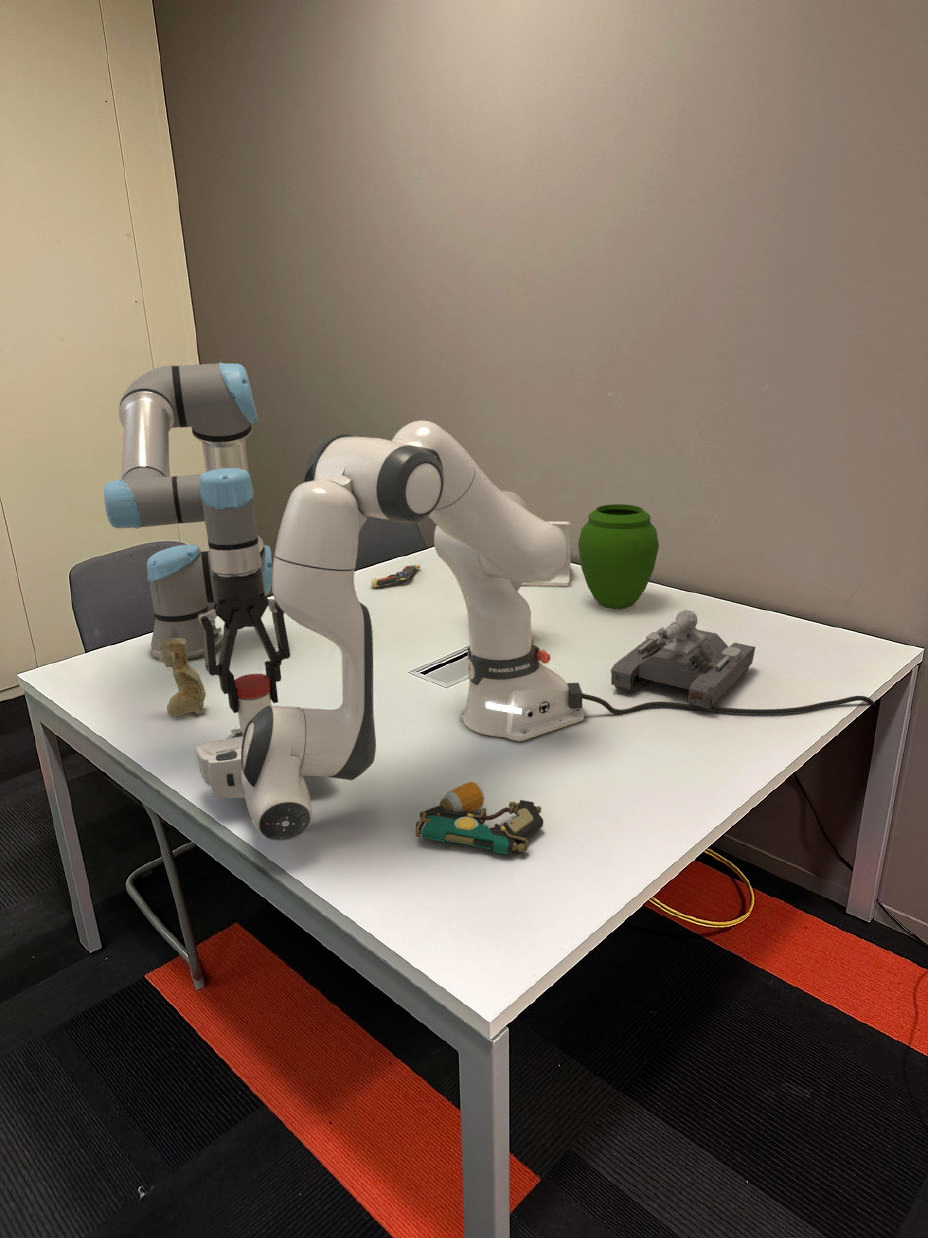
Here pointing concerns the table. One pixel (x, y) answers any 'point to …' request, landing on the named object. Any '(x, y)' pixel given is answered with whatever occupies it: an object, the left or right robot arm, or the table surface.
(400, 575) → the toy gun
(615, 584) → the vase
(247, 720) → the jar
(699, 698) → the toy
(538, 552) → the right robot arm
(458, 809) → the spray gun
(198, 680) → the sculpture
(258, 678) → the lid
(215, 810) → the table surface
